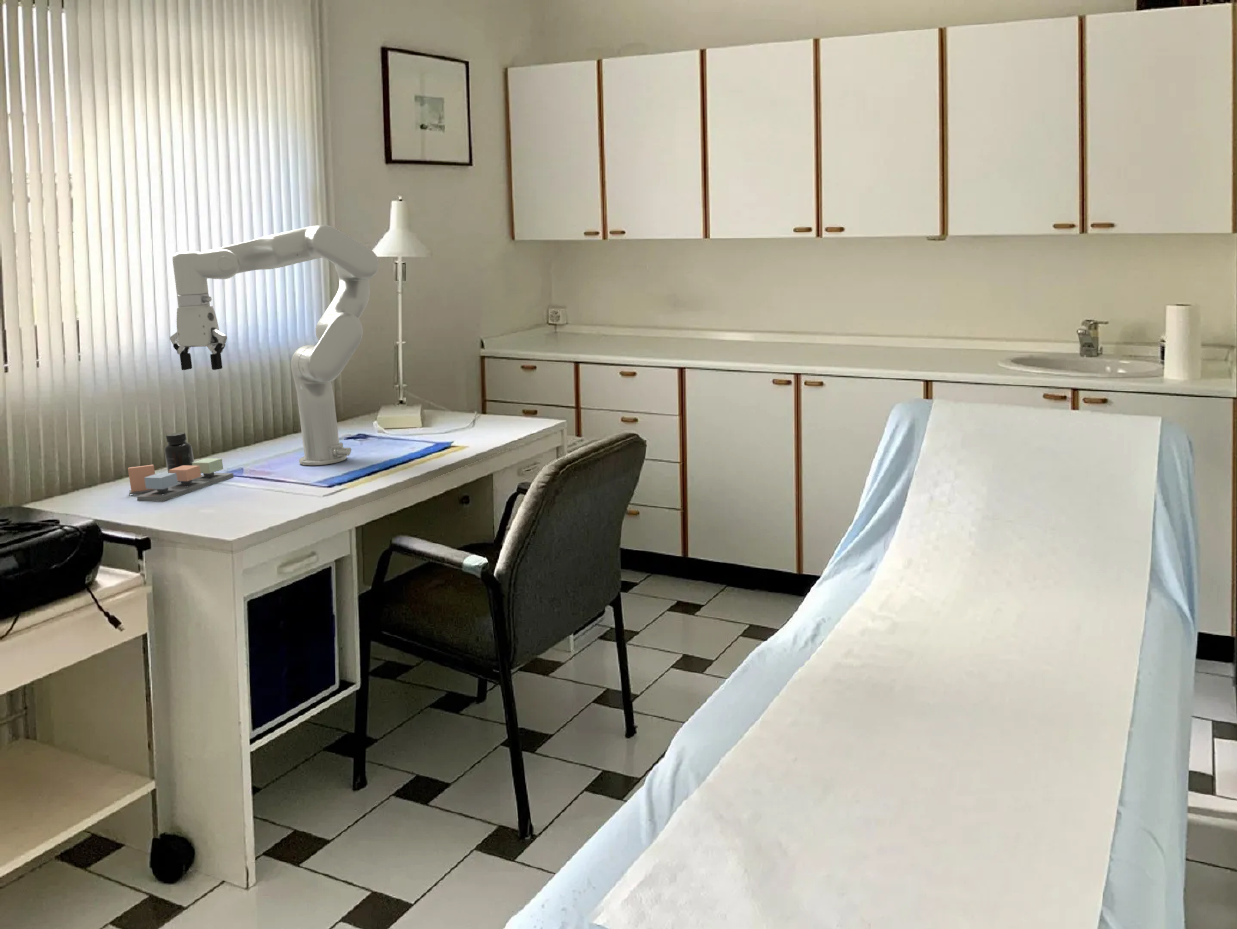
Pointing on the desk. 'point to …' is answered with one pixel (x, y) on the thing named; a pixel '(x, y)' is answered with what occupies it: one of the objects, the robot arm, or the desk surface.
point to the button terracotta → (186, 473)
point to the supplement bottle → (178, 451)
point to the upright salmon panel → (140, 478)
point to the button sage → (209, 465)
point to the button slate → (161, 481)
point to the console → (185, 487)
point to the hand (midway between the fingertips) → (202, 369)
